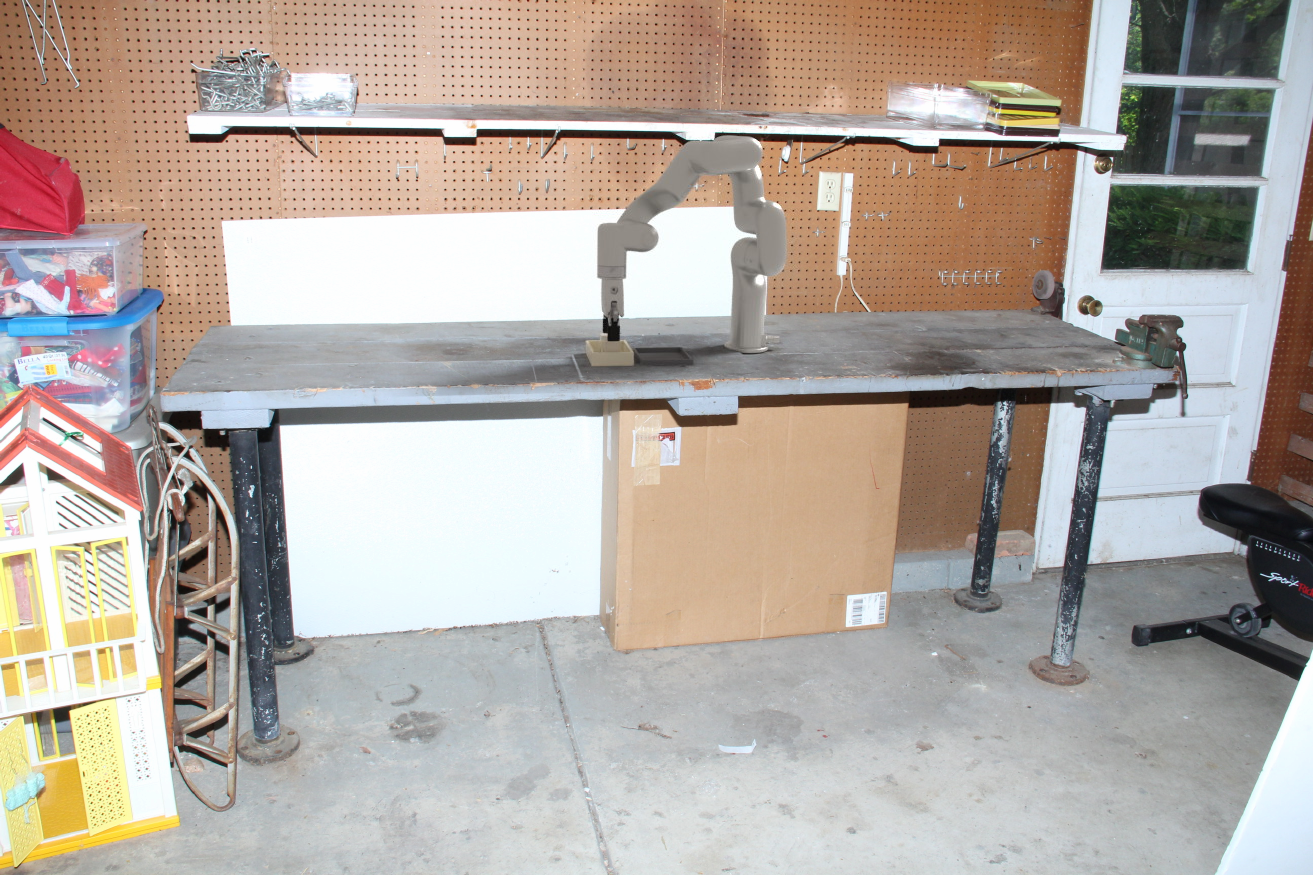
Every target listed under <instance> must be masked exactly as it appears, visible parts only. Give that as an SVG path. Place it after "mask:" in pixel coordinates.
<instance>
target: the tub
mask: <svg viewBox="0 0 1313 875" xmlns="http://www.w3.org/2000/svg"><path fill="white" fill-rule="evenodd" d="M585 354H586V357H587V359H588V361H589V363H590V365H591V367H628V366H631V367H633V366H635V365H634V364H635V363H634V359H635V356H634V352H633V350H632V347H631V346H630V345H629V343H628V342H627V340H626V339H620V352H600V339H598V340H585Z"/></svg>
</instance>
